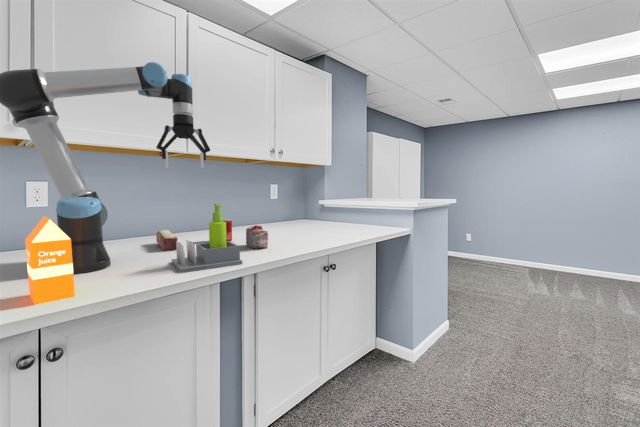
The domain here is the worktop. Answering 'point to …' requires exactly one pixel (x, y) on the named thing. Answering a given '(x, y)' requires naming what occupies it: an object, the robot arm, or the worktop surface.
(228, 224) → the canned food
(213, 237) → the soap dispenser
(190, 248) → the dish rack
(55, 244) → the orange juice
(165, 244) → the snack package
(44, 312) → the worktop surface
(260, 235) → the food item
